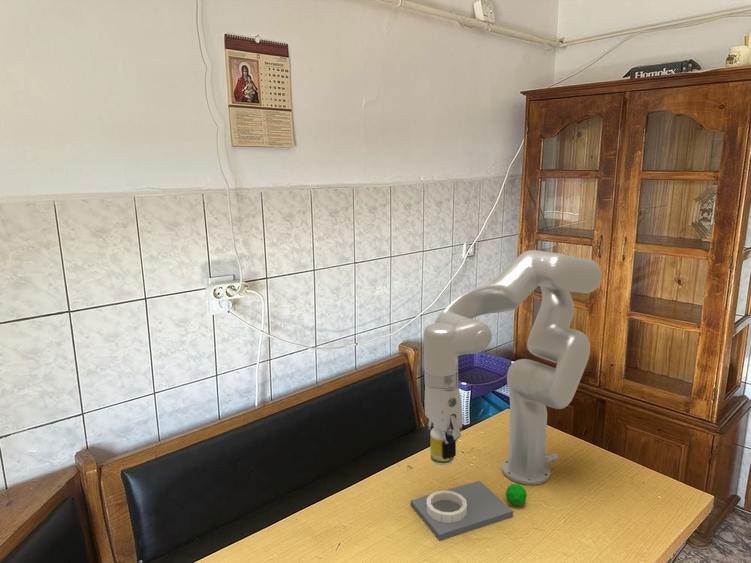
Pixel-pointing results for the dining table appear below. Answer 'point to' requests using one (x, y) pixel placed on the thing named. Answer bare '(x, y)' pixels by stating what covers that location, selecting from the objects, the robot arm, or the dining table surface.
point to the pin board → (475, 510)
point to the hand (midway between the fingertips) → (442, 450)
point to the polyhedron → (516, 494)
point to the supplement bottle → (438, 446)
